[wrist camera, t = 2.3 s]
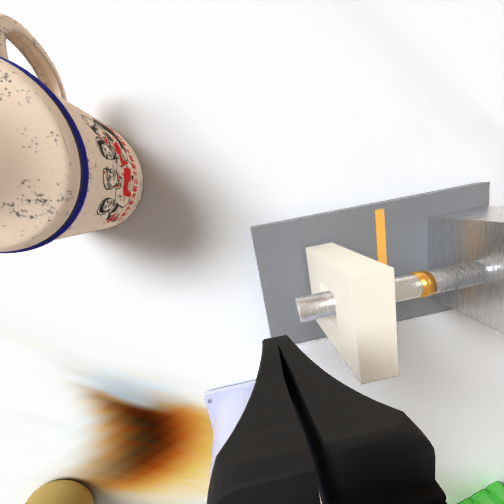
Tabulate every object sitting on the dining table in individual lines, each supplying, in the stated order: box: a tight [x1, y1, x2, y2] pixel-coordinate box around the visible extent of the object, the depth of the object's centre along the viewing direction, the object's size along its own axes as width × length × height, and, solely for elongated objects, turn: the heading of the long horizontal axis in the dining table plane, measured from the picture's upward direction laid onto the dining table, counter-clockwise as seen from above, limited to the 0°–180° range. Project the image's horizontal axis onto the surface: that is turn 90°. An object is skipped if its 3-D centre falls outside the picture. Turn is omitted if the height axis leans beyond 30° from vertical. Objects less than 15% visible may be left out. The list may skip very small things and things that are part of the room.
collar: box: [305, 242, 399, 384], centre depth 17 cm, size 7×2×8 cm, turn 10°
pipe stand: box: [294, 206, 504, 333], centre depth 17 cm, size 8×19×10 cm, turn 100°
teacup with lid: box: [0, 14, 143, 253], centre depth 13 cm, size 12×9×12 cm
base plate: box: [251, 182, 490, 344], centre depth 22 cm, size 12×22×1 cm, turn 100°
